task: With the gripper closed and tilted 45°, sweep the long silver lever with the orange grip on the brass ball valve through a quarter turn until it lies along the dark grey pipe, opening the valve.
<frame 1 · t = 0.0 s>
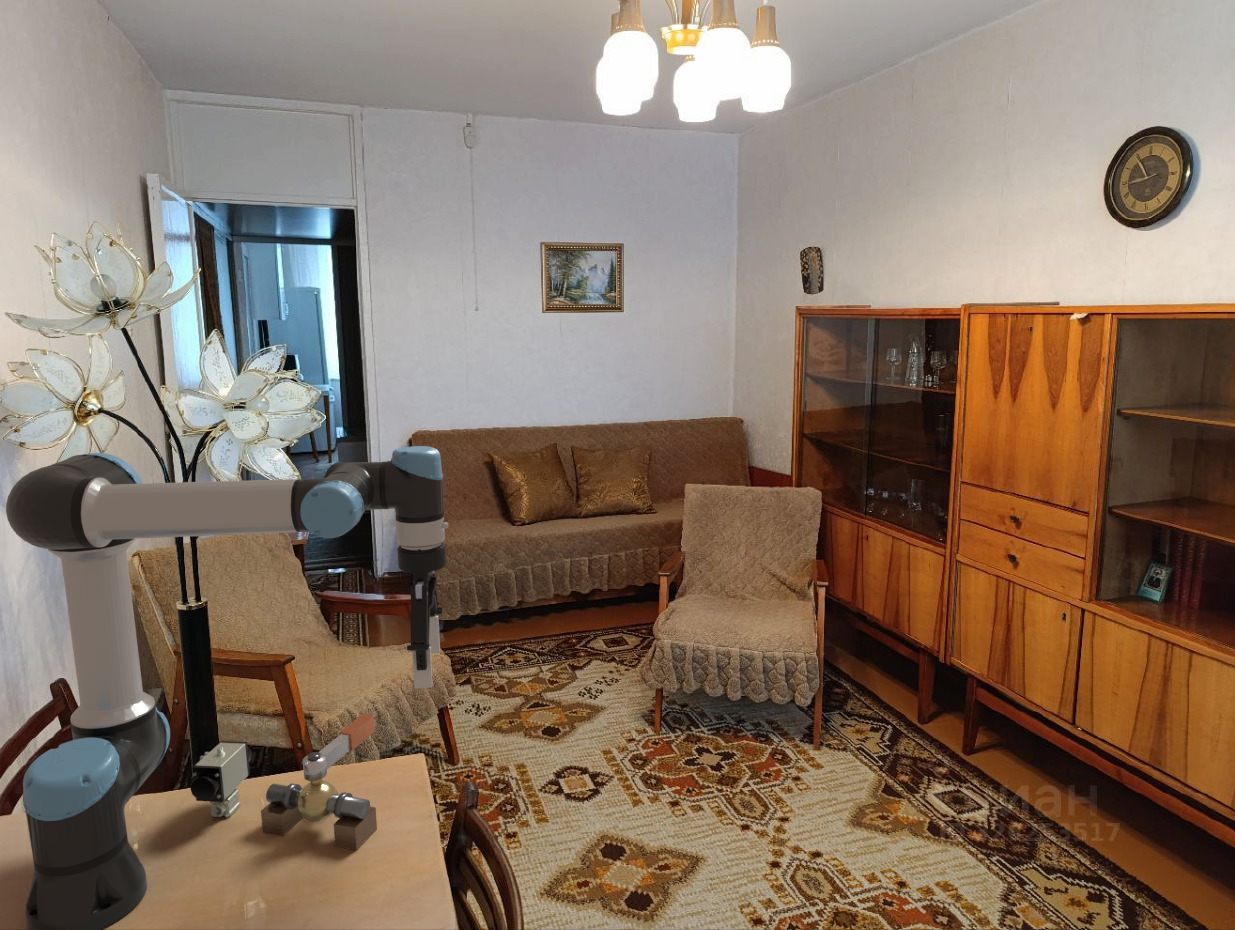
hand: (427, 669, 139), 28 cm above the table, tool pointing down, fingers open, 13 cm apart
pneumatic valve: (224, 812, 148), on the table
valve lever: (340, 744, 147), point 12 cm above the table, hinge at 0.0°
valve stand: (320, 830, 143), on the table
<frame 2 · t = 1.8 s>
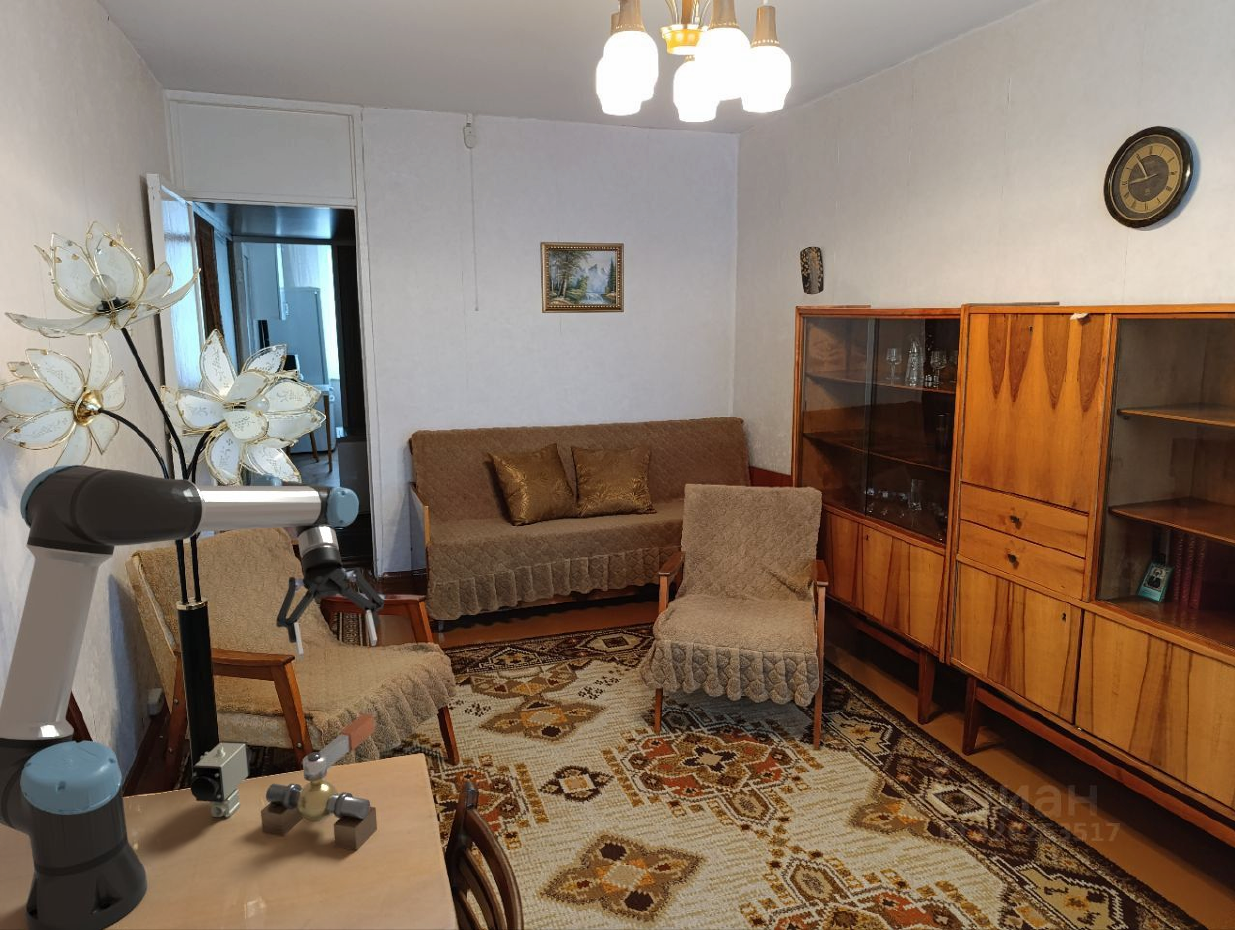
hand: (338, 649, 163), 22 cm above the table, tool tilted 45°, fingers open, 13 cm apart
nothing on the table moved.
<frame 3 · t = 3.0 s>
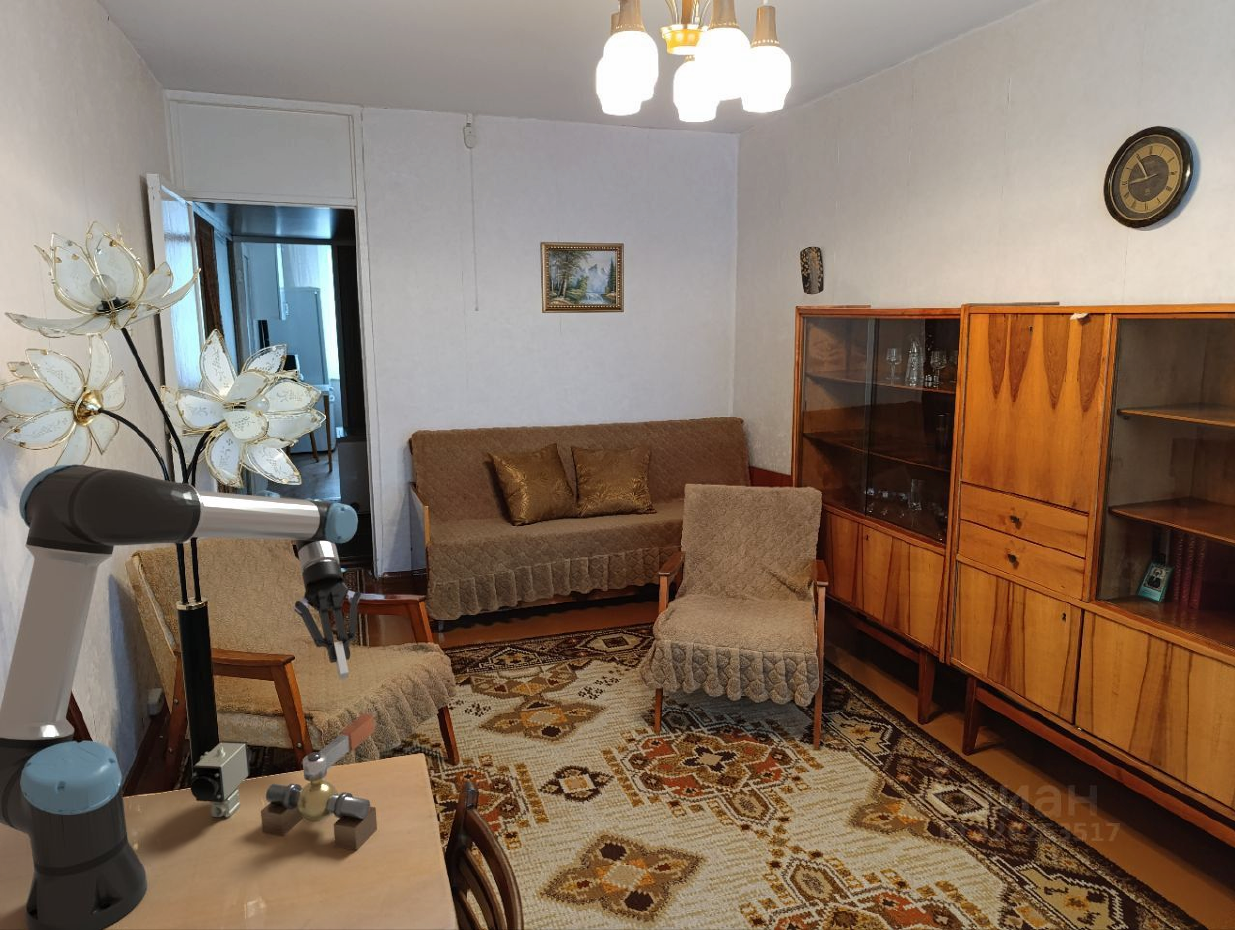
hand: (344, 675, 162), 18 cm above the table, tool tilted 45°, fingers closed
nothing on the table moved.
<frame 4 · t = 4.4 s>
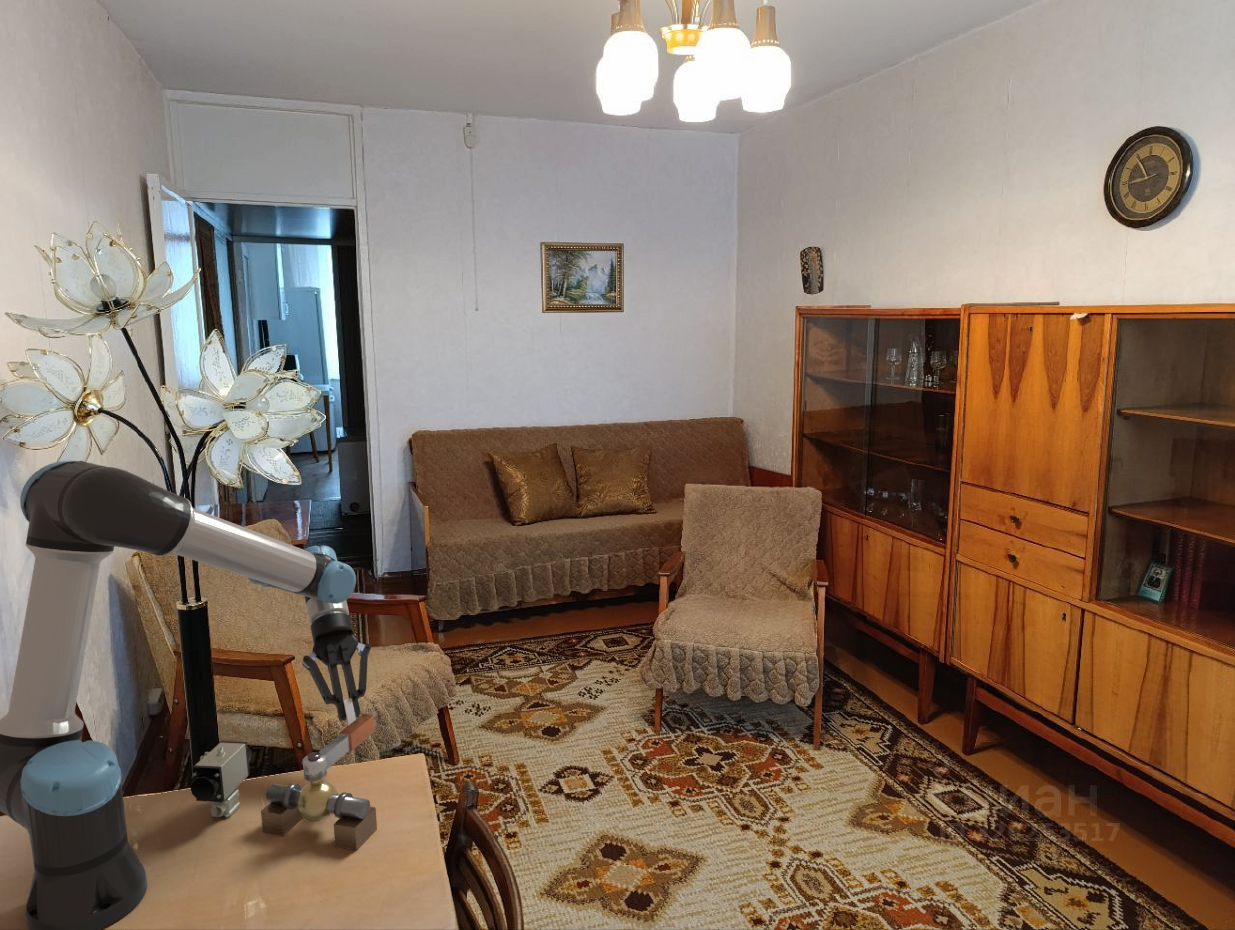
hand: (353, 735, 155), 9 cm above the table, tool tilted 45°, fingers closed
valve lever: (340, 744, 147), point 12 cm above the table, hinge at 0.0°, touching gripper
everything else where it was.
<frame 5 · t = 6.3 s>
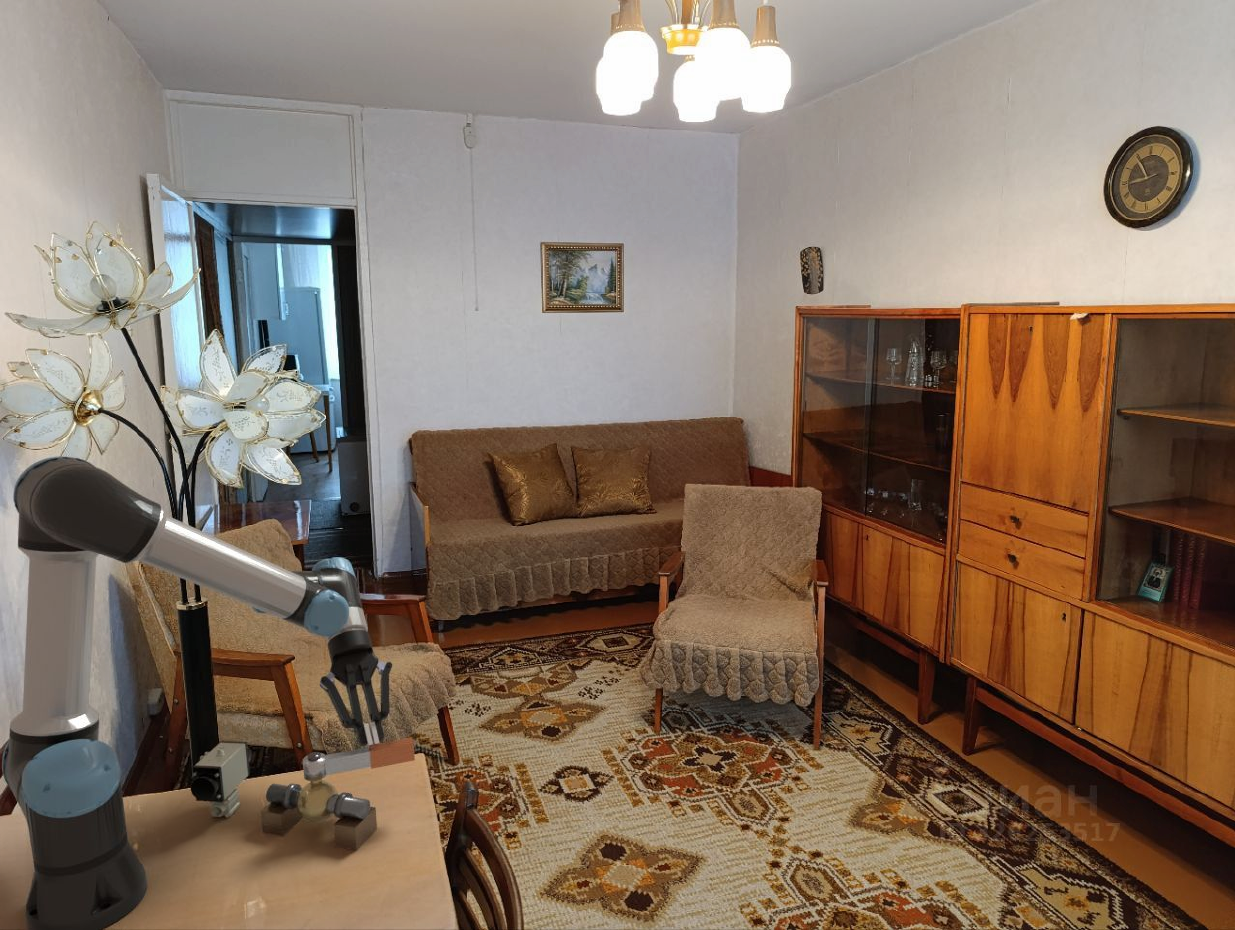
hand: (376, 761, 147), 9 cm above the table, tool tilted 45°, fingers closed
valve lever: (359, 757, 143), point 12 cm above the table, hinge at 52.4°, touching gripper
everything else where it was.
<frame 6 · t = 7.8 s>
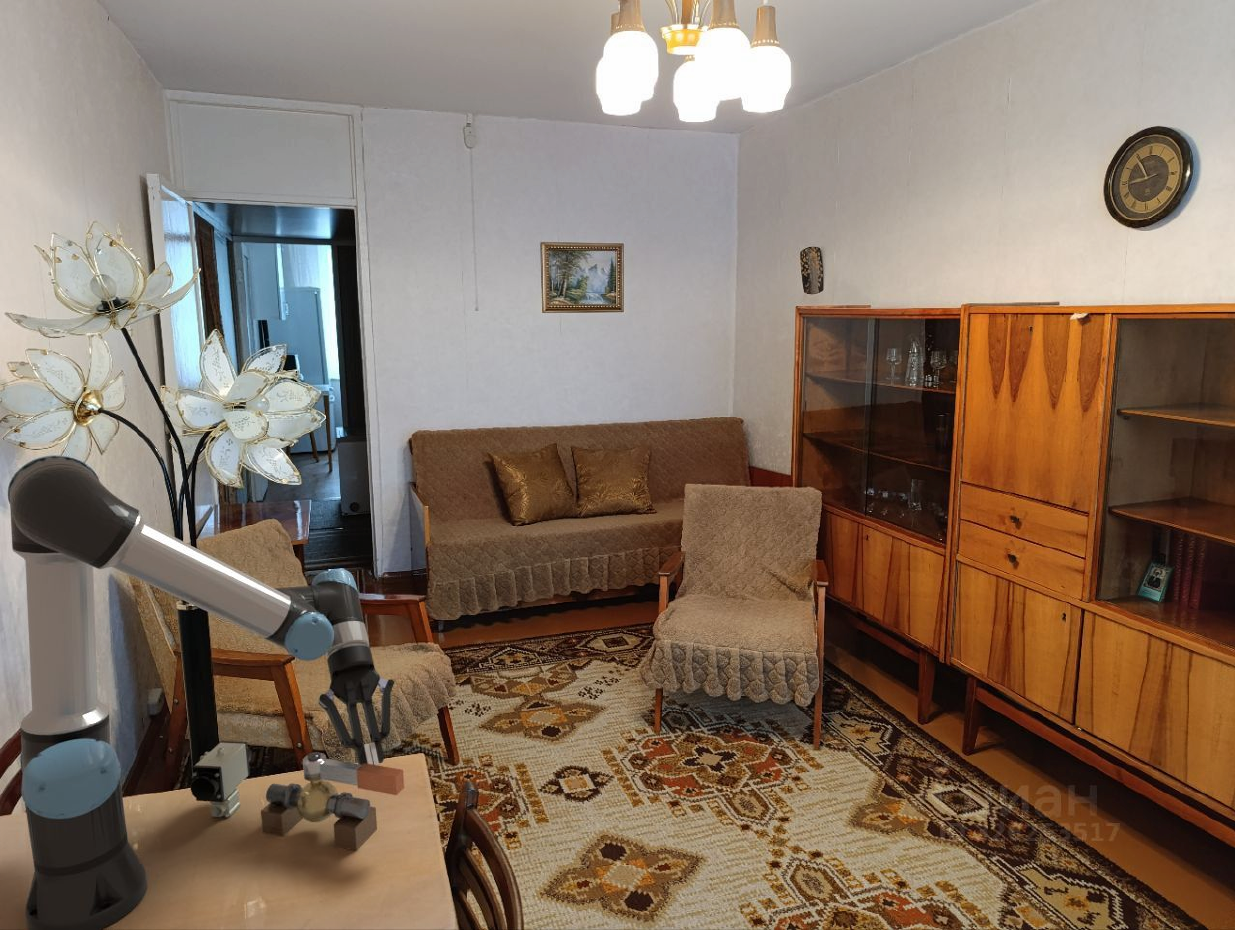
hand: (376, 784, 140), 9 cm above the table, tool tilted 45°, fingers closed
valve lever: (351, 772, 138), point 12 cm above the table, hinge at 91.2°, touching gripper
everything else where it was.
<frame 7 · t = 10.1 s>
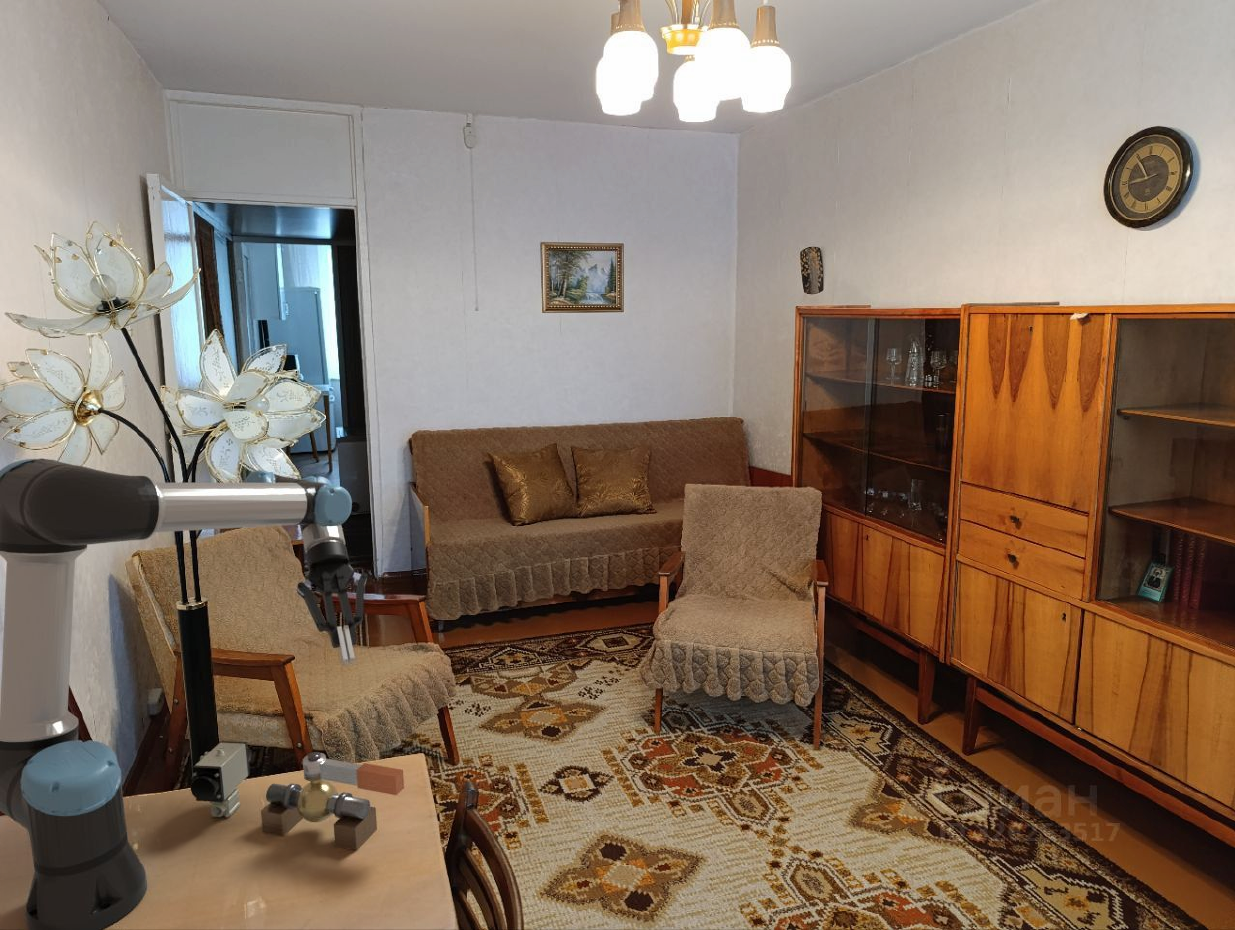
hand: (348, 661, 153), 24 cm above the table, tool tilted 45°, fingers closed
valve lever: (351, 772, 138), point 12 cm above the table, hinge at 91.2°
everything else where it was.
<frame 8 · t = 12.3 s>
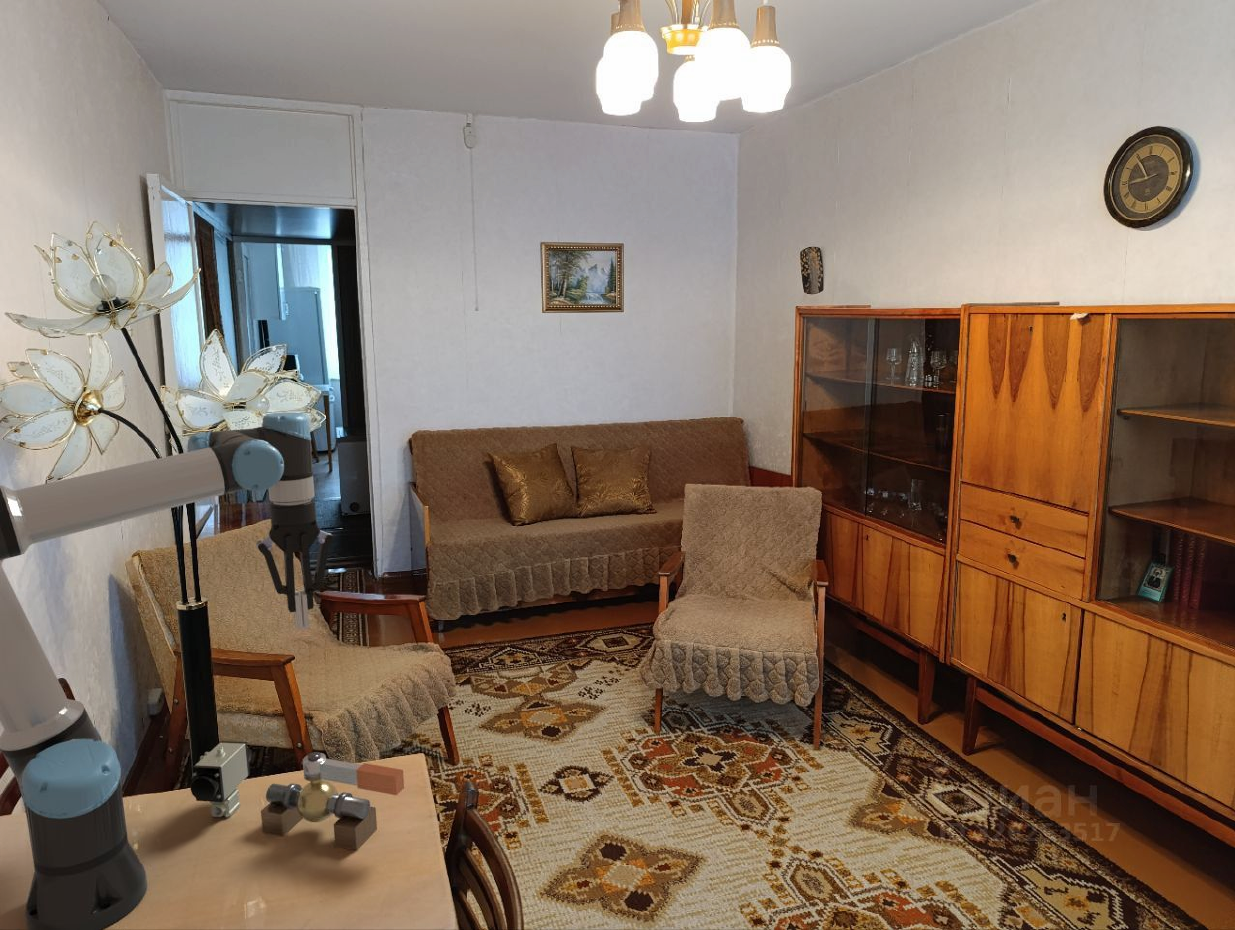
hand: (302, 627, 154), 29 cm above the table, tool pointing down, fingers closed
nothing on the table moved.
at the end: valve lever at +91° (first picture: +0°); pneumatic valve moved 0.2 cm from its start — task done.
